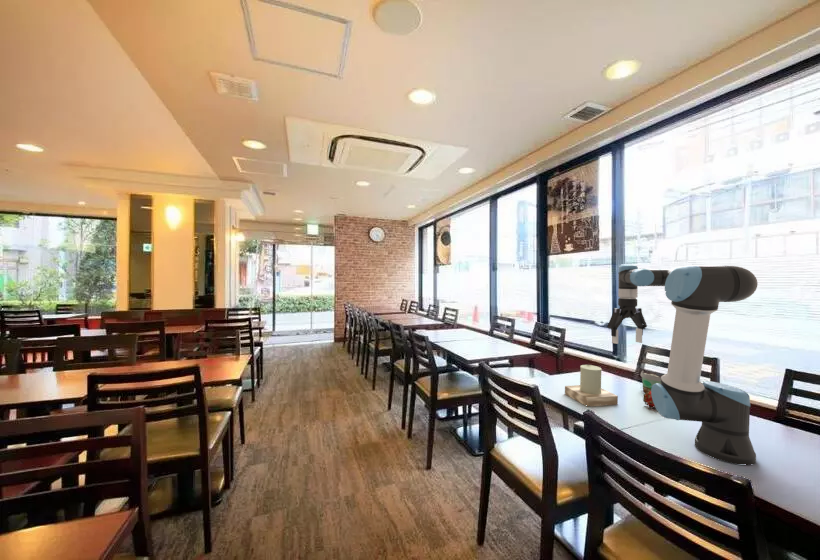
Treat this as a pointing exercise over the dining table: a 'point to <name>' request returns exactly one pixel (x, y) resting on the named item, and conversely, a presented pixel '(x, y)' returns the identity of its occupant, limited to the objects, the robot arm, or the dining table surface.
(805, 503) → the dining table surface
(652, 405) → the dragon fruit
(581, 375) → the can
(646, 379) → the food container
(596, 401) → the riser block
